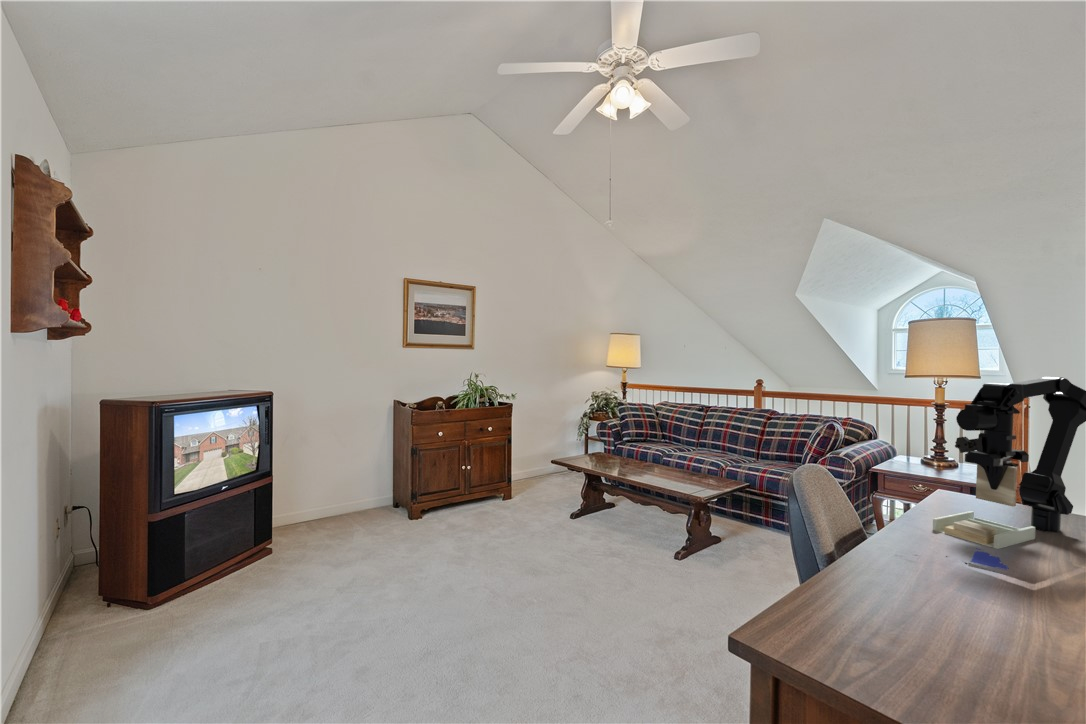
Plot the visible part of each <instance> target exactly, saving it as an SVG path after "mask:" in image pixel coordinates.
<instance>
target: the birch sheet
mask: <svg viewBox="0 0 1086 724" xmlns="http://www.w3.org/2000/svg"><path fill="white" fill-rule="evenodd" d="M975 480H976V483H975V485H976V486H975V487H976V488H975V499H978V500H982V501H988V502H991V503H995V504H999V505H1005V506H1009V507H1016V506H1017V486H1018V484H1017V483H1018V466H1017V467H1011V466H1008V467H1007V470H1006V472H1005V474H1004V476H1003V478H1002V480H1001V482H1000V484H999V486H998V488H997V490H993V489H991V487H990V484H989V481H988V478H987V475H986V473H985V470H984V469H983V468H982V467H981V466H980V465H979V464H976V479H975Z"/></svg>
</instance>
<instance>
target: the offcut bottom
mask: <svg viewBox="0 0 1086 724" xmlns="http://www.w3.org/2000/svg"><path fill="white" fill-rule="evenodd" d="M945 533H947V534H946V535H948V534H951V535H950V536H952V535H954V536H953V537H955V536H958V537H961V538H960V539H962V538H965V539H968V540H967V541H969V540H971V541H970V542H972V541H975V542H978V543H977V544H979V543H982V544H985V545H984V546H986V545H988V544H991V543H994V536H990V537H983V536H979V535H975V534H972V533H968V532H965V531H961V530H958V529H954V525H951V526H947V527H945V532H944V533H943V534H945ZM958 537H957V538H958ZM965 539H964V540H965ZM975 542H974V543H975ZM982 544H981V545H982Z"/></svg>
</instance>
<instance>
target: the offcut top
mask: <svg viewBox="0 0 1086 724" xmlns="http://www.w3.org/2000/svg"><path fill="white" fill-rule="evenodd" d="M954 529H958V530H961V531H965V532H968V533H972V534H975V535H979V536H983V537H990V536H994V535H997V529H996V528H992V527H988V526H984V525H980V524H977V523H973V522H969V521H965V520H963V521H959V522H954Z"/></svg>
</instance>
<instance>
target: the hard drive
mask: <svg viewBox="0 0 1086 724" xmlns="http://www.w3.org/2000/svg"><path fill="white" fill-rule="evenodd" d="M975 550H976V551H974V553H973V555H972V558H971V561H970V562H968V563H967V564H968V565H967V566H968V567H971V568H975V569H979V570H984V571H988V572H993V573H996V574H1000V575H1004V576H1006V574H1004V573H1001V572H998V571H995V570H992V569H990V568H994V569H995V568H996V569H999V570H1006V571H1007V570H1009V567H1008V566H1007V565H1005V564H1004V563H1002V562H1001V559H1000V557H998V556H994V555H991V554H990V553H988V552H985V551H982V549H981V548H975ZM977 564H978V565H977ZM980 565H981V566H980ZM983 566H987V567H990V568H986V567H983Z"/></svg>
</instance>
